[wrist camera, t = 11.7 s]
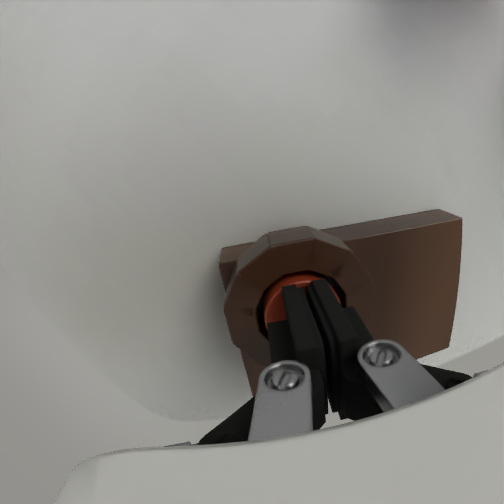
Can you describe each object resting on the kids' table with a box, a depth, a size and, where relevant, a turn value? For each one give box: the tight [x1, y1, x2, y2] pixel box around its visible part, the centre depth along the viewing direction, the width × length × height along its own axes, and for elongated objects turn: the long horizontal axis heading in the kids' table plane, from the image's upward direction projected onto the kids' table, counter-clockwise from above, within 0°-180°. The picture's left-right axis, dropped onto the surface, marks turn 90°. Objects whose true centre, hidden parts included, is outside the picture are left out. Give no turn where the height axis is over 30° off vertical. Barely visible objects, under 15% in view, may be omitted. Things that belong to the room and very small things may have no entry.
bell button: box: [262, 270, 340, 330], centre depth 12 cm, size 3×3×2 cm
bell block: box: [219, 209, 462, 397], centre depth 14 cm, size 12×9×4 cm
